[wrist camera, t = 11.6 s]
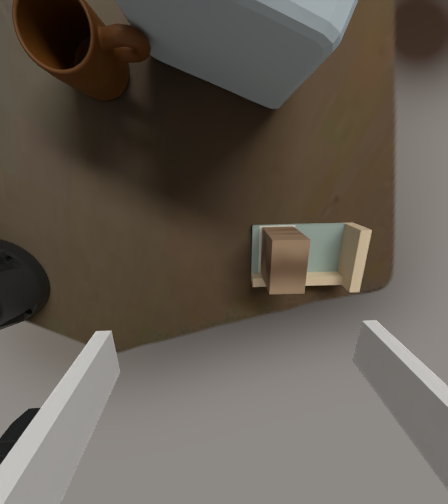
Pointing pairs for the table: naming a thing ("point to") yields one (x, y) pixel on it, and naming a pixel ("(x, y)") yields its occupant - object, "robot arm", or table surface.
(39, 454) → the robot arm
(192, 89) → the table surface
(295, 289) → the block
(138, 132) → the table surface
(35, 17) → the mug
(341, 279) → the toy stand
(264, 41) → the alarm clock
